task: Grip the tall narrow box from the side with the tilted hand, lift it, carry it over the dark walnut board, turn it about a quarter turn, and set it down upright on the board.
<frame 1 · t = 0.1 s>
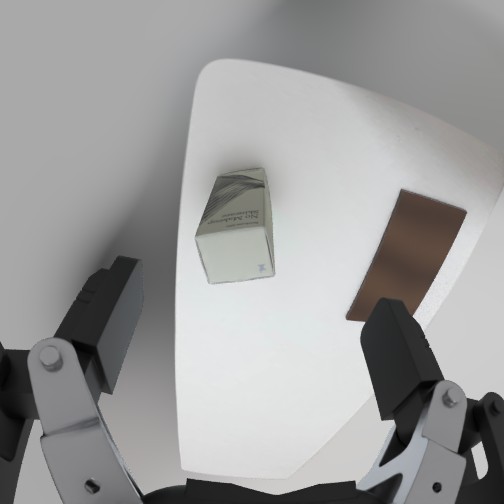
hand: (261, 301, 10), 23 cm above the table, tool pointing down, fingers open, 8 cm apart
box: (243, 189, 32), on the table
walnut board: (406, 266, 37), on the table
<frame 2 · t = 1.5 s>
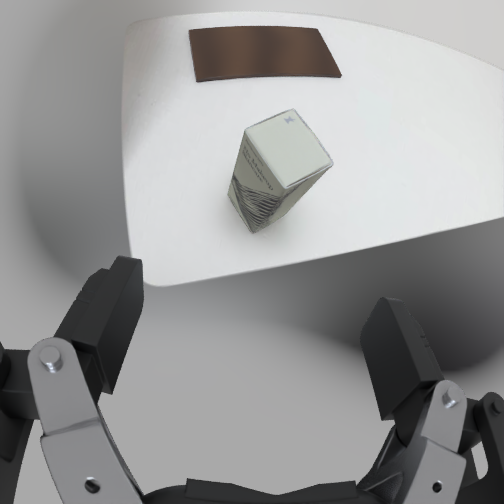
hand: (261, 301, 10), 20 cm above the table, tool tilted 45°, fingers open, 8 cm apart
box: (257, 206, 31), on the table
walnut board: (264, 50, 36), on the table
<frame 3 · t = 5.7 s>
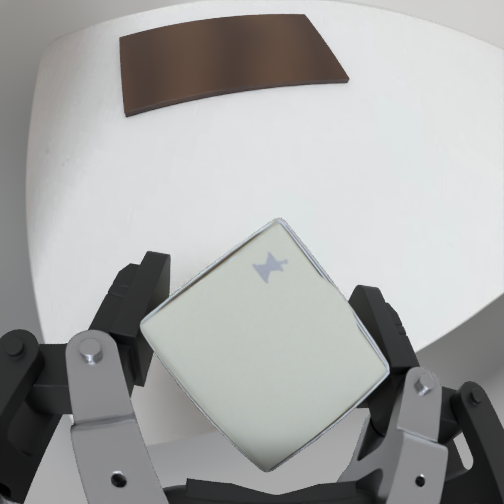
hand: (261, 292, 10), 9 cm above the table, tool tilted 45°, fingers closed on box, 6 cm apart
box: (234, 327, 19), on the table, touching gripper
walnut board: (229, 51, 24), on the table
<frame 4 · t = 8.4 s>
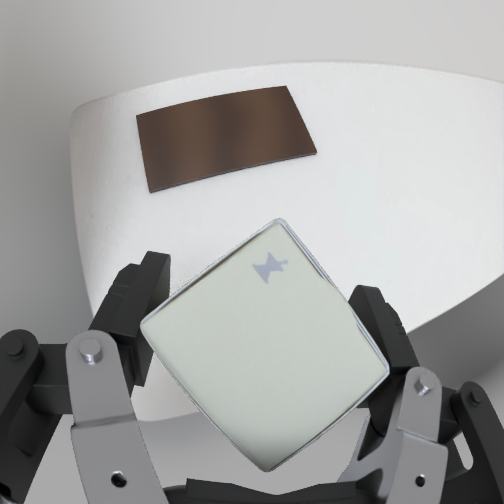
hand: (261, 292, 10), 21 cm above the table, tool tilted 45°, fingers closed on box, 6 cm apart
box: (234, 327, 19), point 12 cm above the table, touching gripper
walnut board: (224, 131, 35), on the table
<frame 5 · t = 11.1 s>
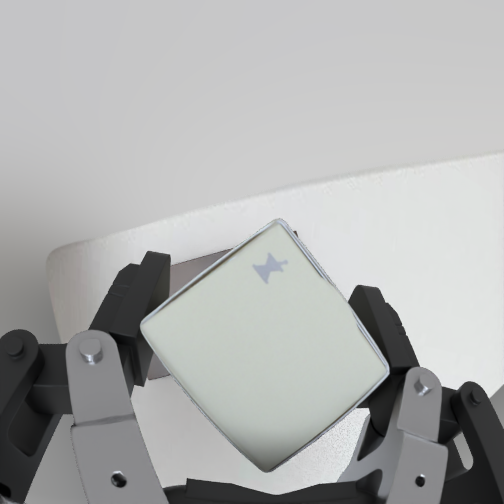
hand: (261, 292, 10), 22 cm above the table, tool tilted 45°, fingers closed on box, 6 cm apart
box: (234, 328, 19), point 13 cm above the table, touching gripper
walnut board: (223, 305, 32), on the table
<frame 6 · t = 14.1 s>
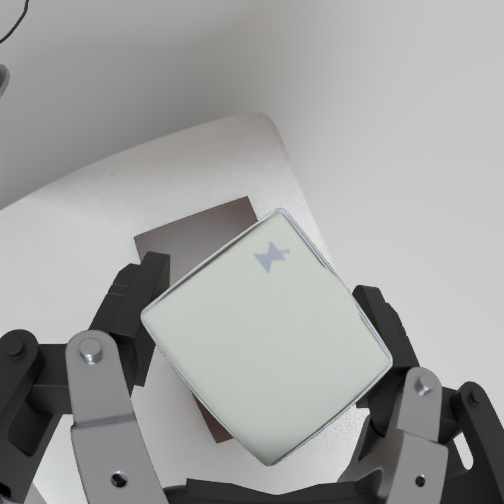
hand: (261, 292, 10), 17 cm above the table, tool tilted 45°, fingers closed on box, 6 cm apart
box: (235, 324, 19), point 7 cm above the table, touching gripper
walnut board: (230, 322, 26), on the table
when the fingers open (10 cm above the table, at t = 16.5 s): box stays where it is, resting on walnut board.
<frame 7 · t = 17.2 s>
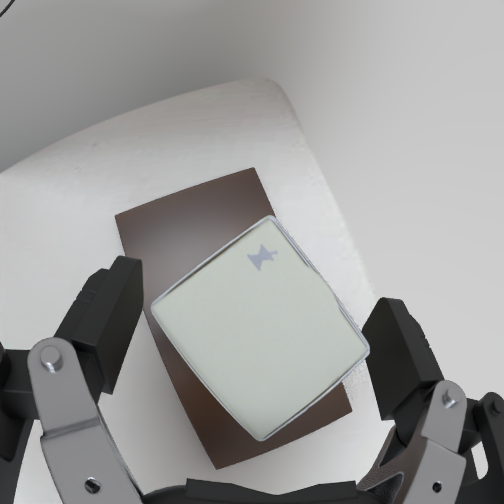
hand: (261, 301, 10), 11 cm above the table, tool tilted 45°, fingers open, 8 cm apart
box: (232, 320, 20), resting on walnut board
walnut board: (233, 321, 21), on the table
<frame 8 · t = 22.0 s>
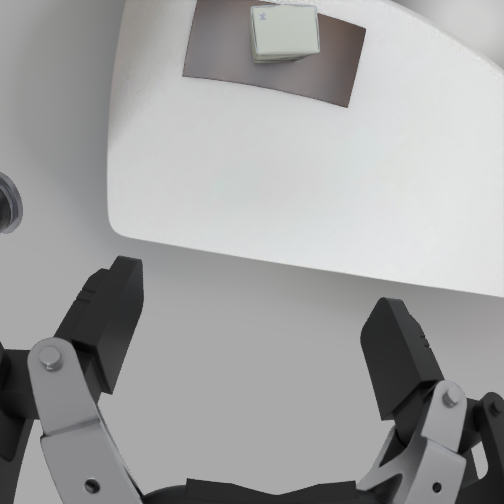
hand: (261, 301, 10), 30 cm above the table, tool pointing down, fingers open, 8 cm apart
box: (274, 45, 29), resting on walnut board
walnut board: (275, 45, 29), on the table
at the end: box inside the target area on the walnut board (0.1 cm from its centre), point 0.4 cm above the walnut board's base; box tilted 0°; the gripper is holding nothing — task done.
